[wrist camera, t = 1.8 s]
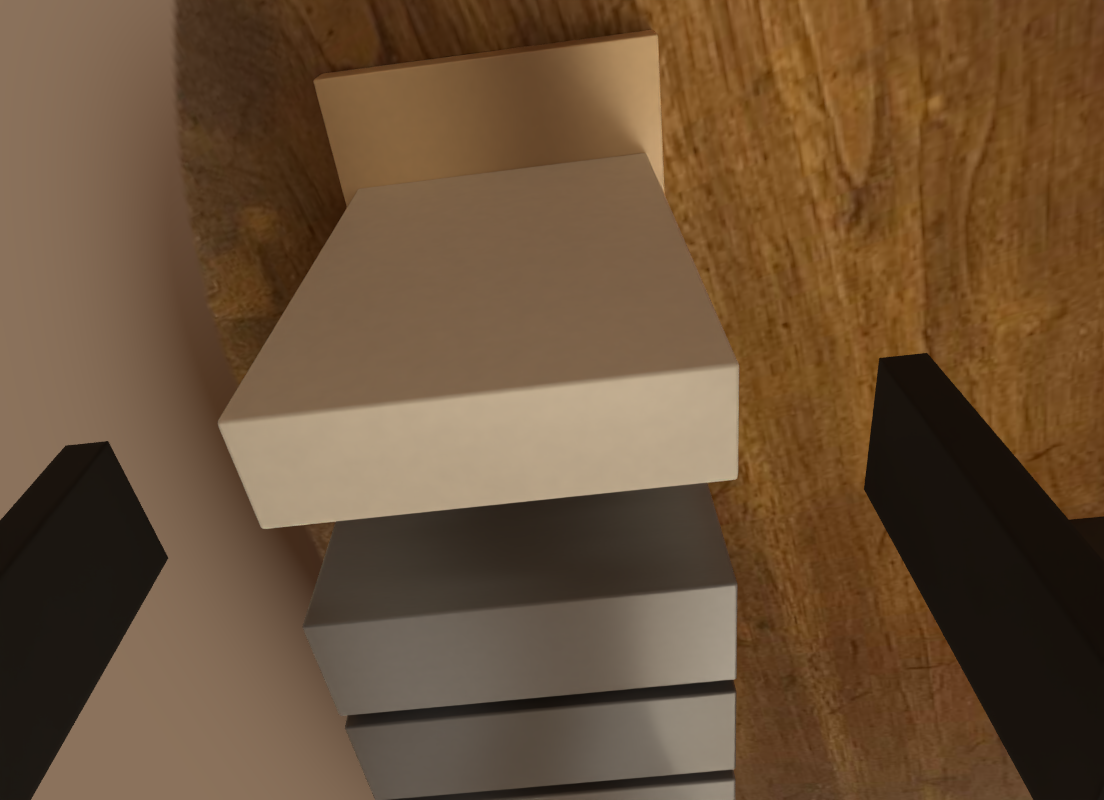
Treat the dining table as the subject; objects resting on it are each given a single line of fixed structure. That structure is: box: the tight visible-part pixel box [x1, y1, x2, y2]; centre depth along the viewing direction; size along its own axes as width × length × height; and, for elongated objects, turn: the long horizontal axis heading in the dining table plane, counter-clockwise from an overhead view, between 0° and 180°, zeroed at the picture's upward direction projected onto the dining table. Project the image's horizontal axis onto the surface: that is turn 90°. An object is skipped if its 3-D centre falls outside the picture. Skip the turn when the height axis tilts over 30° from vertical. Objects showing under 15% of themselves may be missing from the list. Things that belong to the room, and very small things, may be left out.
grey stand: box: [303, 30, 737, 800], centre depth 23 cm, size 10×19×14 cm, turn 7°
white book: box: [218, 153, 739, 529], centre depth 20 cm, size 9×2×13 cm, turn 97°
